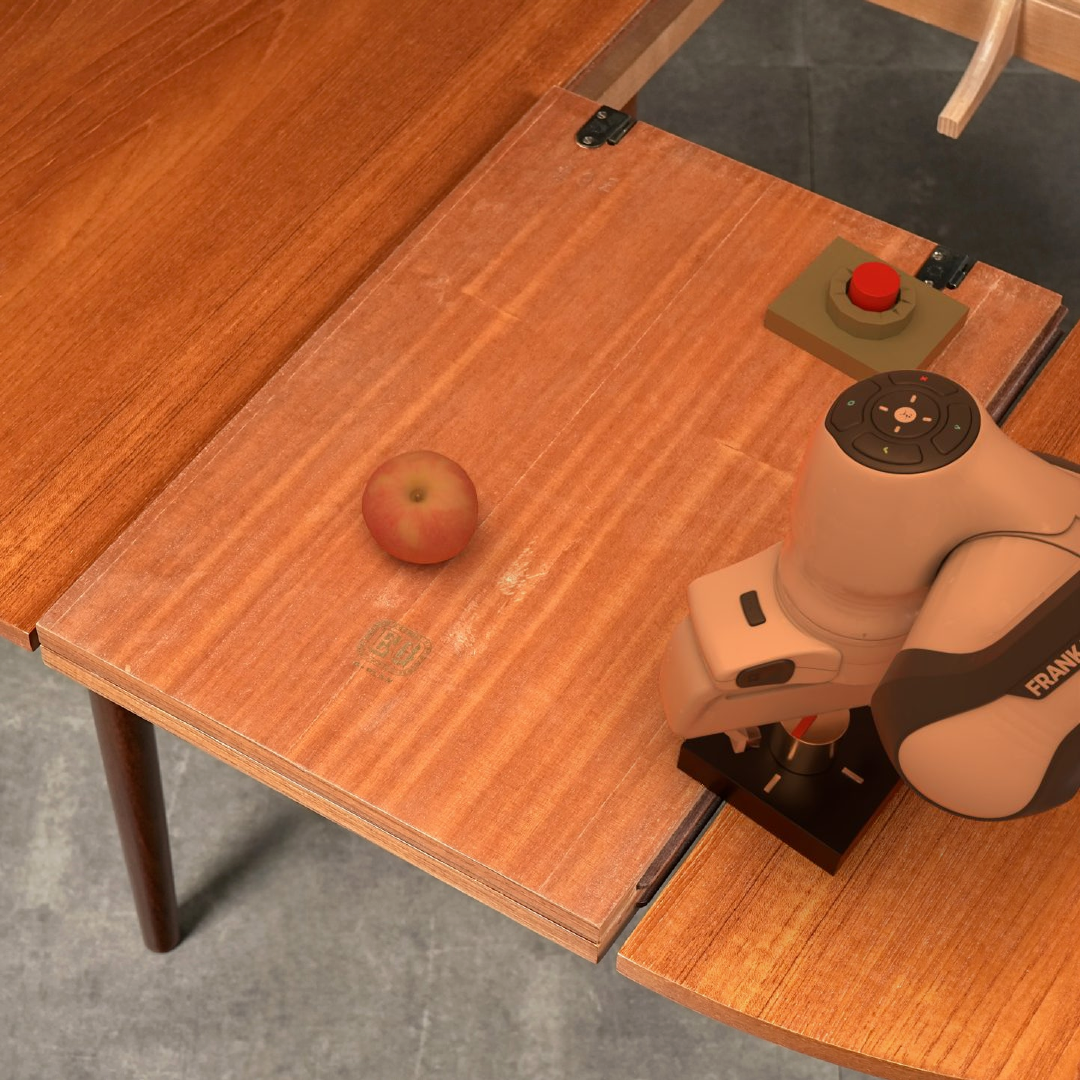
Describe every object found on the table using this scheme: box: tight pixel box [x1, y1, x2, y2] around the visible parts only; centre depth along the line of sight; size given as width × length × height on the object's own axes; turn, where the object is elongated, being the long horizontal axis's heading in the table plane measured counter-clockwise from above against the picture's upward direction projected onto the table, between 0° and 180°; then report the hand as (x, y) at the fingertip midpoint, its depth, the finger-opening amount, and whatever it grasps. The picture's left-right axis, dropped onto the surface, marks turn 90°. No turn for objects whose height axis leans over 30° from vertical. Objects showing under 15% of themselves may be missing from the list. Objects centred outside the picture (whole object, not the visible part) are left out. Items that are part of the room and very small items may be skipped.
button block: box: [763, 235, 971, 382], centre depth 130 cm, size 12×10×4 cm
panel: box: [676, 705, 905, 877], centre depth 108 cm, size 12×10×3 cm
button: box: [849, 262, 900, 312], centre depth 128 cm, size 4×4×2 cm
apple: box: [361, 449, 479, 565], centre depth 115 cm, size 8×8×8 cm
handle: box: [769, 709, 850, 775], centre depth 105 cm, size 4×4×4 cm
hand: (816, 727), depth 104 cm, fingers open, 8 cm apart
